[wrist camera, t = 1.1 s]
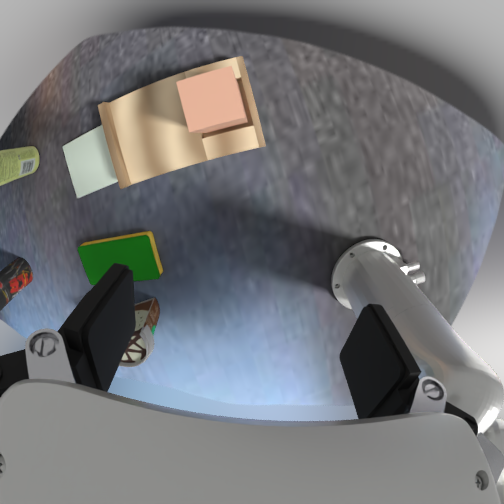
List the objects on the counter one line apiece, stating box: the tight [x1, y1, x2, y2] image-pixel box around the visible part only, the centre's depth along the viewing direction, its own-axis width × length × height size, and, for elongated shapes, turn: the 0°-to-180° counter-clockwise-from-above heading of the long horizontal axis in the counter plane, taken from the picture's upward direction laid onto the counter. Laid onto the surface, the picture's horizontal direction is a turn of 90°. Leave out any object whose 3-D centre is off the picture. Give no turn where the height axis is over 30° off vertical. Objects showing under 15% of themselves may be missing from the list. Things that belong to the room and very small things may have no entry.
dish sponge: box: [78, 231, 163, 285], centre depth 40 cm, size 7×14×2 cm, turn 98°
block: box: [176, 66, 248, 133], centre depth 26 cm, size 5×5×10 cm
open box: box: [98, 56, 266, 189], centre depth 30 cm, size 19×12×4 cm, turn 103°
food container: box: [119, 297, 160, 367], centre depth 41 cm, size 12×6×10 cm, turn 112°
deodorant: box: [0, 258, 33, 311], centre depth 36 cm, size 6×6×15 cm
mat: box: [63, 125, 118, 198], centre depth 34 cm, size 9×9×1 cm
